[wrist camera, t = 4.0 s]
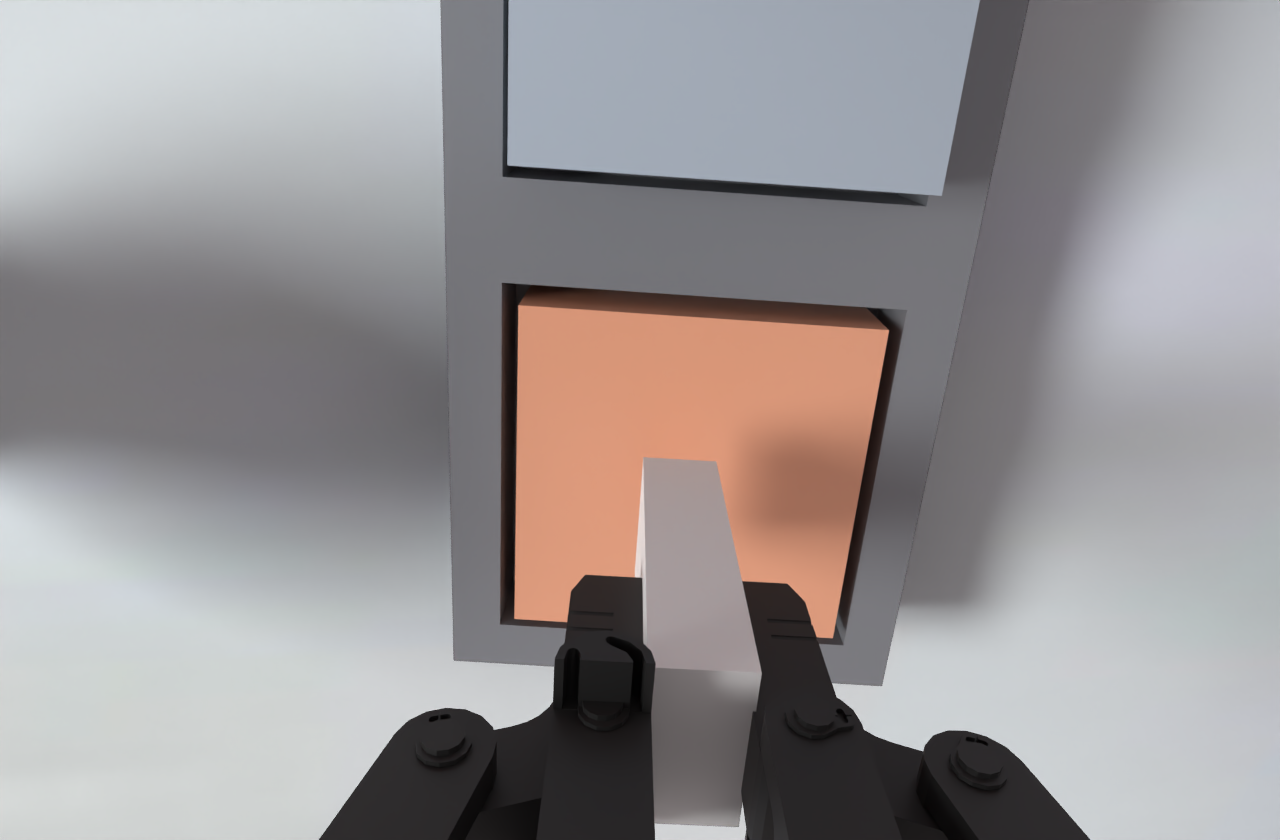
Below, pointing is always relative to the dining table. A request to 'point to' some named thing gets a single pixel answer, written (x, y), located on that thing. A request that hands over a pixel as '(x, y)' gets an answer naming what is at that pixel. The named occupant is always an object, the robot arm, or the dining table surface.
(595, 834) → the robot arm
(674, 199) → the keypad
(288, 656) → the dining table surface
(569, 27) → the key slate
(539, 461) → the key terracotta
